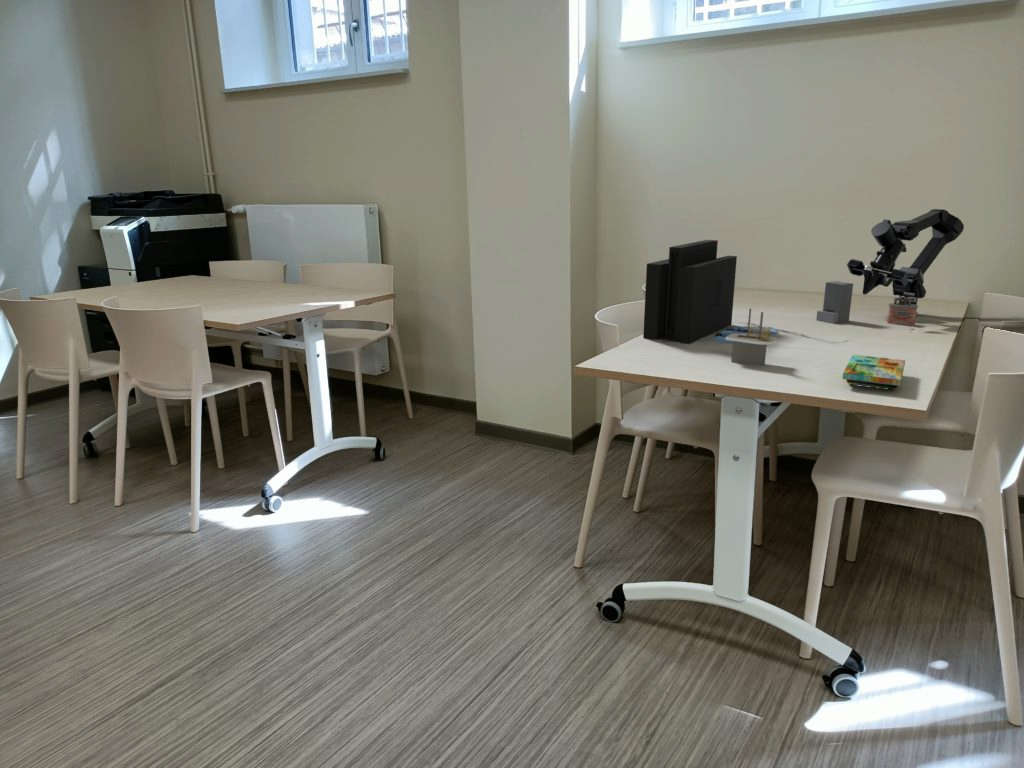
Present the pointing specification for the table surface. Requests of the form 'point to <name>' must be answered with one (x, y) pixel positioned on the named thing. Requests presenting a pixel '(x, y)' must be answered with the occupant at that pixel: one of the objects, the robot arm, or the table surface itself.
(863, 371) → the puzzle game
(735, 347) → the architectural model
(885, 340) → the table surface
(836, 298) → the plug
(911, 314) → the lighter
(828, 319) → the header
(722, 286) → the game console
